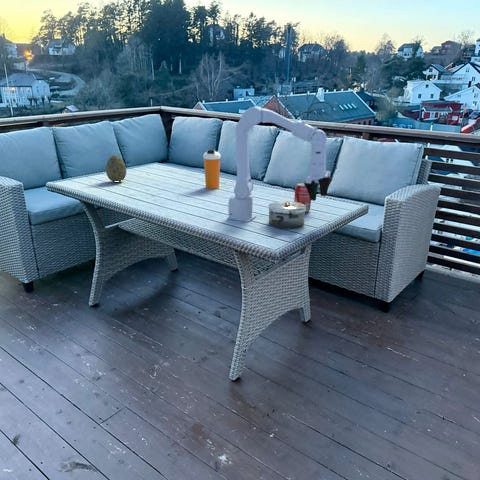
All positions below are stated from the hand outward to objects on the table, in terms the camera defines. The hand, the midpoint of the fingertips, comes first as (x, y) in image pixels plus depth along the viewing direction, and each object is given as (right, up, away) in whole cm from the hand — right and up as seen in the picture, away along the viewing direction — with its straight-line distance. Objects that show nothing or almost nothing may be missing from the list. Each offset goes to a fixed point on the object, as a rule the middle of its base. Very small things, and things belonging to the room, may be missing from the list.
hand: (318, 197), depth 160 cm
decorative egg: (-99, +16, +69) cm, 121 cm away
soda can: (-4, -4, +19) cm, 20 cm away
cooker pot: (-13, -11, +1) cm, 17 cm away
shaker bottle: (-45, +11, +58) cm, 75 cm away
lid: (-12, -5, -1) cm, 13 cm away
